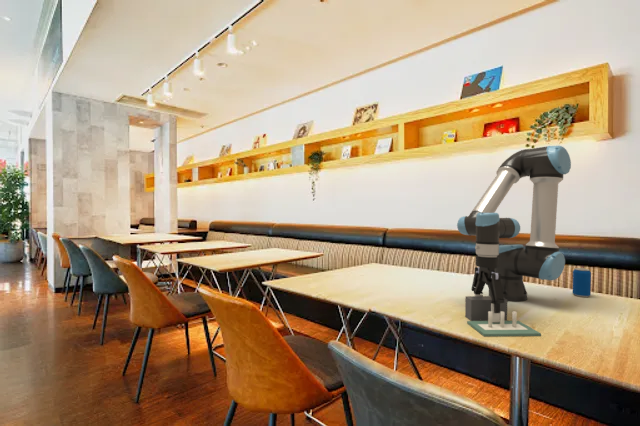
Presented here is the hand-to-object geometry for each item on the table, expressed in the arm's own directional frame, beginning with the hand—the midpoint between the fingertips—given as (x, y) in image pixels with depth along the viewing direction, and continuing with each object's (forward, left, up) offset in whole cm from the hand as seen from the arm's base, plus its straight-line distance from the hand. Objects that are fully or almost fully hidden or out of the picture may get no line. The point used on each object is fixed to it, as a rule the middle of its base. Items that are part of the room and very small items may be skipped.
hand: (486, 316), depth 126 cm
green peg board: (0, +10, -1) cm, 10 cm away
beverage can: (-58, -31, -1) cm, 66 cm away
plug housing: (0, -1, -1) cm, 1 cm away
